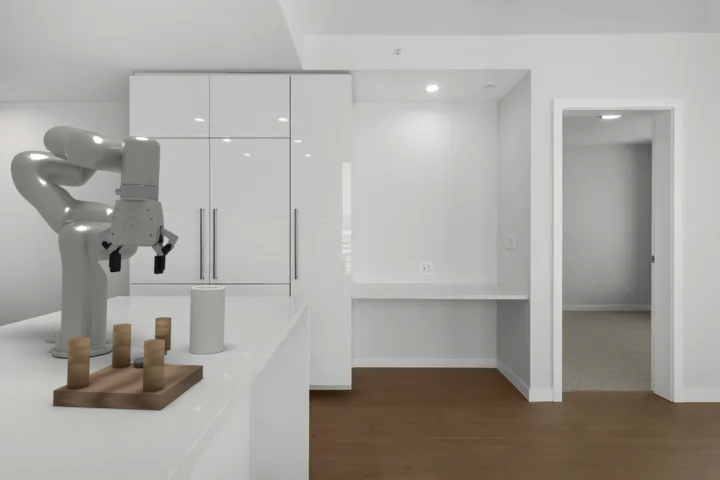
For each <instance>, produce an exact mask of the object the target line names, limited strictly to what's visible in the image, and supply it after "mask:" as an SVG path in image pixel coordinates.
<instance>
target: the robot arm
mask: <svg viewBox="0 0 720 480" xmlns="http://www.w3.org/2000/svg"><path fill="white" fill-rule="evenodd" d="M42 141H43V146H44V147H45V149H46V151H43V150H25V151H21V152H19V153H17V154H15V155H14V157H13V158H12V160H11V162H10V175H11V179H12V183H13V184H14V187H15V189H16V190H17V191H18V193H19V194H20V196H22V198H23V199H24V200H25V201H27V202H28V203H29V204H30V205H31V206H32V207H33V208H35V210H36V211H37V212H38V214H39V216H41V217H42V219H43V220H44V221H45V222H46V224H47V225H48V226H49V228H50V229H51V230H52V231H53V232H54V233H56V234H58V238H57V239H58V240H57V241H58V249H59V255H60V261H61V306H60V307H61V308H60V310H61V311H60V312H61V313H60V333H58V334H57V333H50V334H49V335H48V336H47V338H46V339H45V343H46V344H55V347H54V348H53V349H52V351H51V352H52V353H51V355H52V356H53V357H57V358H63V359H64V358H65V359H68V339H70V338H74V337H90V357H94V356H95V357H96V356H100V355H104V354H105V355H106V354H107V353H110V352H112V350H113V343H110V342H107V327H108V326H107V324H108V323H107V317H108V289H109V287H108V280H109V279H108V276H107V274H106V271H105V270H104V269H103V267H102V266H101V264H100V261H101V262H102V261H108V268H109V273H120V272H121V269H122V260H123V261H124V260H128V259H130V258H132V257H133V256H134V255H136V253H137V251H138V249H139V247H143V248H144V247H151V248H152V250H153V251H154V252H155V253H156V255H154V260H153V261H154V262H153V274H154V275H161V274H164V271H165V270H166V256H168V255H169V253H170V252H171V251H172V250H173V249H174V248H175V245H176V243H177V242H178V240H179V236H178V235H177V234H175V233H173V232H171V231H169V230H168V229H166V228H165V220H164V211H163V206H162V202H161V201H159V194H160V193H159V192H160V188H159V187H160V169H161V167H160V166H161V165H160V163H161V145H160V143H159V142H158V140H157V139H153V138H150V137H145V136H128V137H126V138H124V139H119V138H116V137H112V136H111V137H110V136H105V135H102V134H101V133H99V132H96V131H92V130H88V129H82V128H78V127H72V126H67V125H57V126H53V127H51V128H49V129H47V131H46V132H45V133H44V136H43V140H42ZM98 171H103V172H109V173H110V172H111V173H115V174H116V173H117V174H121V176H120V185H119V188H115V191H114V193H115V195H118V196H119V198H120V199H116V200H115V204H114V206H112V205H110V204H108V203H105V202H100V201H99V202H98V201H88V200H87V201H86V200H81V199H76V198H74V197H73V195H71V194H70V192H69V191H68V190H67V189H65V188H64V187H74V188H76V187H82V186H84V185H85V184H87V183H88V182H89V181H90V179H91V178H92V177H93V176H94V175H95V173H96V172H98ZM165 238H167V239H168V241H167V243H166V244H165V245H164V241H165Z"/></svg>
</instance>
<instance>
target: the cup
mask: <svg viewBox="0 0 720 480" xmlns="http://www.w3.org/2000/svg"><path fill="white" fill-rule="evenodd" d="M225 303H226V286H224V285H223V286H222V285H194V286H191V287H190V309H189V310H190V315H189V316H190V317H189V350H188V351H189V353H190V354H195V355H212V353H214V354H218V353H217V352H219V353H221V351H222V352H223V351H224V350H225V315H226V314H225V313H226V311H225V310H226V309H225V308H226V304H225Z"/></svg>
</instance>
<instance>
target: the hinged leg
mask: <svg viewBox="0 0 720 480" xmlns="http://www.w3.org/2000/svg"><path fill="white" fill-rule="evenodd" d="M154 326H155V327H154V339H163V340H165V351H164V357H165V356H167V355H168V351H170V350H172V349H171V348H172V346H171V345H172V317H169V316H163V317H156V318H155V322H154ZM143 361H144V356H142V357H137V358H134V359H133V363H134V367H143Z"/></svg>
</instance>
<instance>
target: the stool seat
mask: <svg viewBox="0 0 720 480" xmlns="http://www.w3.org/2000/svg"><path fill="white" fill-rule="evenodd" d="M112 344H113V350H112V351H111V352H112V353H111V355H112V356H111V357H112V358H111V364H109V365H108V366H106V367H103V368H100V369H98V370H96V371H94V372H92V373H90V359H91V356H90V337H74V338H70V339H68V358H67V369H66V370H67V376H66V378H67V379H66V380H67V381H66V384H65V385H63V386H60V387H59V388H56V389H54V390H53V392H52V393H53V395H52V406H53V407H54V406H55V407H73V408H74V407H76V408H77V407H78V408H101V409H123V410H124V409H127V410H147V411H148V410H152V411H153V410H154V411H162V410H163V409H164V408H165V407H166V406H168V405H169V404H170V403H171V402H173V401H174V400H175V399H177V398H178V397H180V396H181V395H182V394H184V393H185V392H187V391H188V390H189V389H190V388H191V387H193V386H194V385H195V384H198V382H200V381H201V380H202V379H204V365H198V364H176V363H175V364H173V363H171V364H170V363H167V364H166V363H165V356H164V351H165V340H163V339H155V338H153V339H152V338H151V339H146V340H144V341H143V357H144V361H143V367H134V362H131V350H132V324H131V323H118V324H113V325H112Z"/></svg>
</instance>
